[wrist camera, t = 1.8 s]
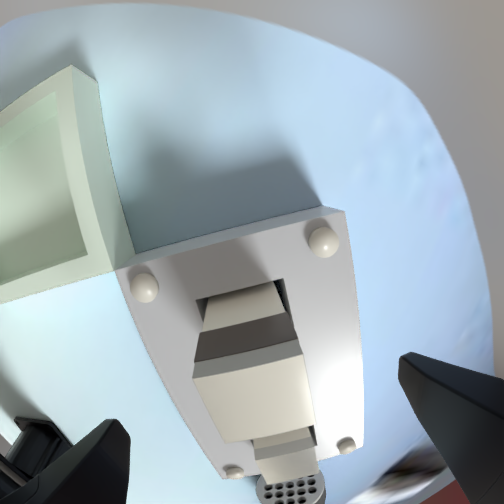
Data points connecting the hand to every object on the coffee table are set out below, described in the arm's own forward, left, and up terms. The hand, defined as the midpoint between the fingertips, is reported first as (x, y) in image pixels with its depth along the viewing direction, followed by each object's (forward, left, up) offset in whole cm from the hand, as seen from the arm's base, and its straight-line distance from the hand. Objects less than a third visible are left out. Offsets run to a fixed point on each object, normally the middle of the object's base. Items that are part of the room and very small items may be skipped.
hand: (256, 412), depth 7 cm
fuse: (0, -8, -8) cm, 11 cm away
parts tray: (-11, +9, -8) cm, 16 cm away
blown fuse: (0, 0, -8) cm, 8 cm away
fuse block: (0, -4, -8) cm, 9 cm away
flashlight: (-1, -23, -9) cm, 24 cm away
